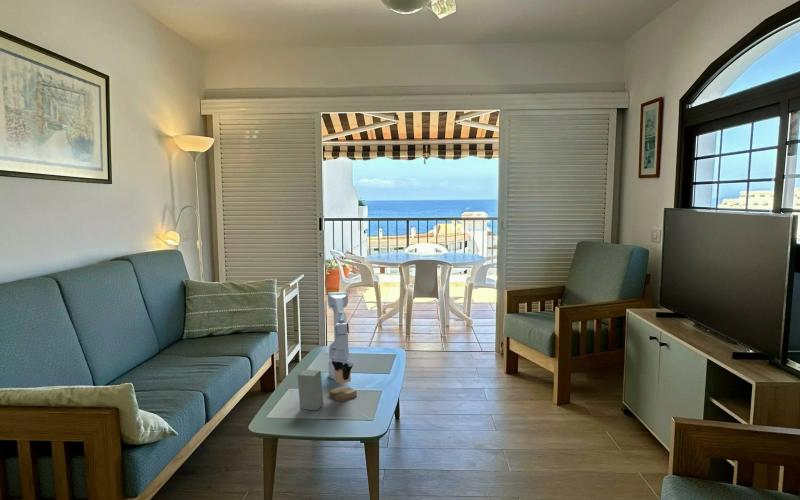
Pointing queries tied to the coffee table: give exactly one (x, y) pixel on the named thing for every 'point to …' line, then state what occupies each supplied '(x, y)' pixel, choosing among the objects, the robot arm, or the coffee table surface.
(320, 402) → the skincare box
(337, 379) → the cube
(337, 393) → the tan flat block
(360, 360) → the coffee table surface
